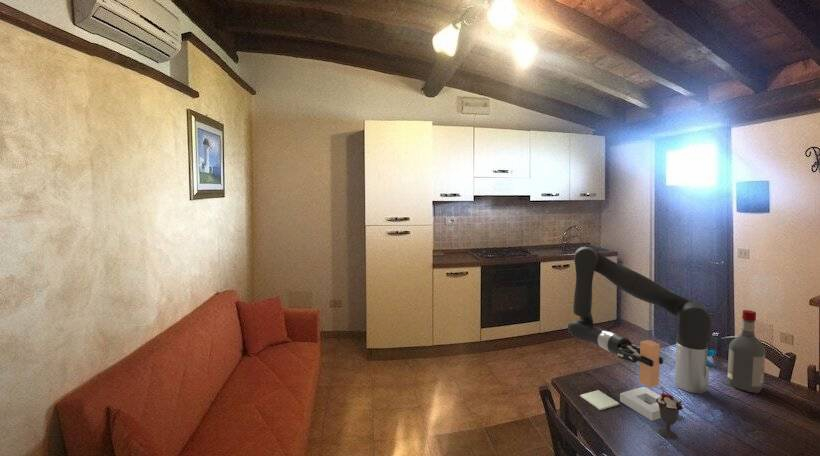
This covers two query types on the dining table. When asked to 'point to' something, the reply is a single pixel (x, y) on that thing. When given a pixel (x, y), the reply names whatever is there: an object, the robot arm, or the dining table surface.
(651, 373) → the peg
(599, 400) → the pad
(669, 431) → the sundae
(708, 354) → the gear
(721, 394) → the dining table surface
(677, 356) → the robot arm
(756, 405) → the dining table surface
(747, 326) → the liquor
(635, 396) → the socket block
